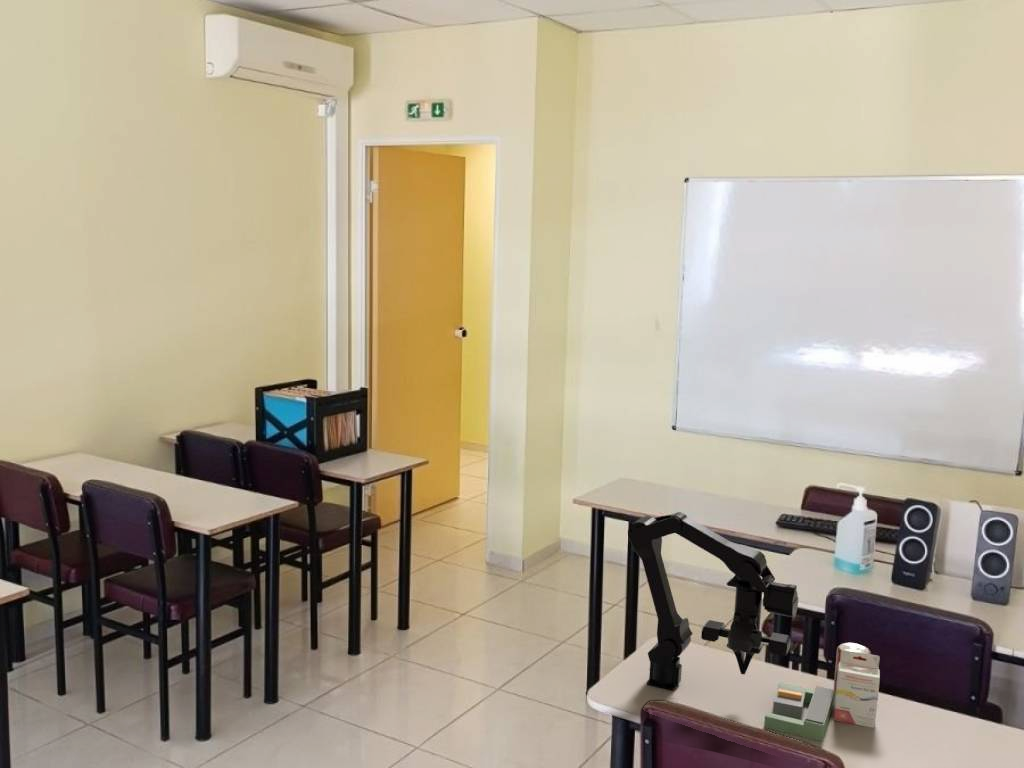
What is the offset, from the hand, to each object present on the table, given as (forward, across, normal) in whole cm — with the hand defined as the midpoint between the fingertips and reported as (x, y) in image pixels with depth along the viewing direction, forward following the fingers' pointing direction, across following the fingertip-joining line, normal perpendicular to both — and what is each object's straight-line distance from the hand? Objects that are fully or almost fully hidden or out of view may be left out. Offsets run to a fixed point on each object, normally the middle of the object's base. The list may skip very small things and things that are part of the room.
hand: (743, 673), depth 216 cm
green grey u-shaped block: (+7, +14, 0) cm, 15 cm away
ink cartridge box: (+7, +24, +4) cm, 25 cm away
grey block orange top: (+7, +10, +2) cm, 13 cm away
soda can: (+7, +22, +14) cm, 27 cm away
